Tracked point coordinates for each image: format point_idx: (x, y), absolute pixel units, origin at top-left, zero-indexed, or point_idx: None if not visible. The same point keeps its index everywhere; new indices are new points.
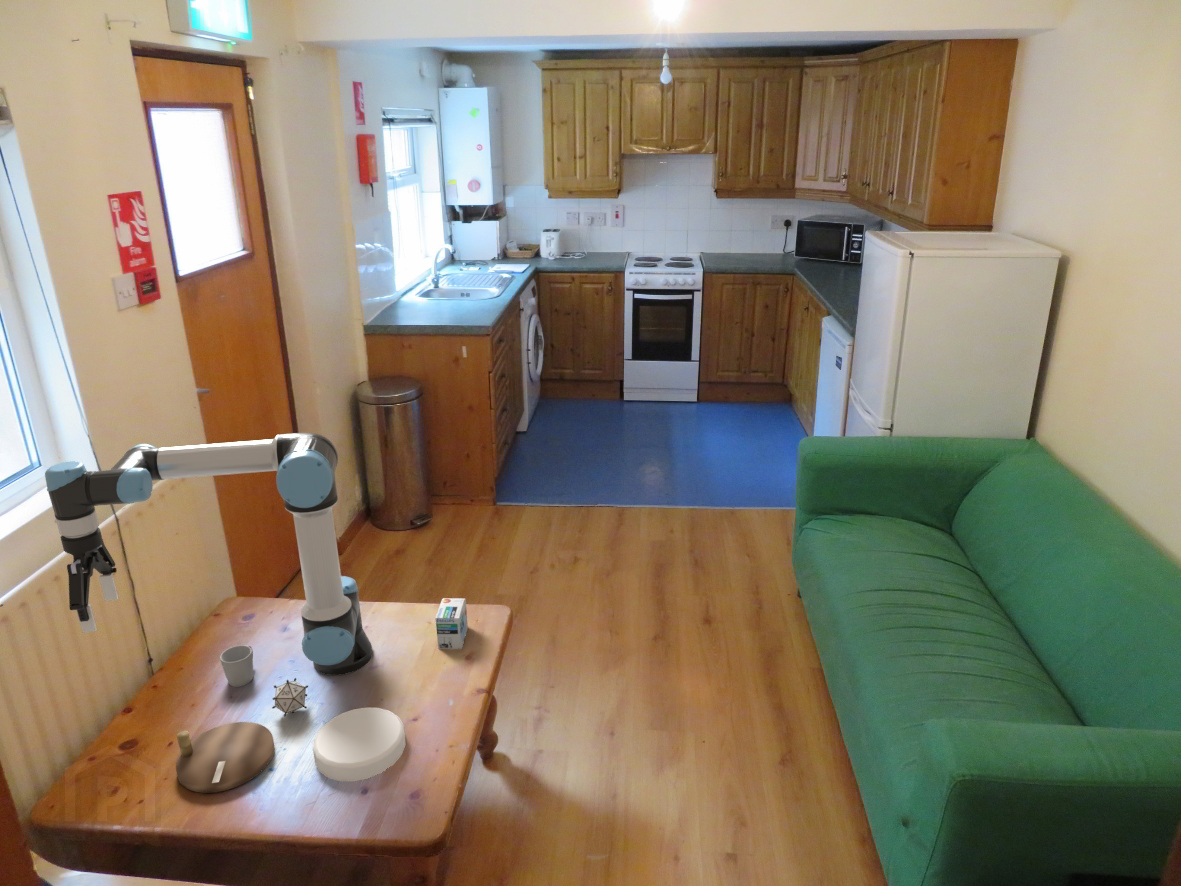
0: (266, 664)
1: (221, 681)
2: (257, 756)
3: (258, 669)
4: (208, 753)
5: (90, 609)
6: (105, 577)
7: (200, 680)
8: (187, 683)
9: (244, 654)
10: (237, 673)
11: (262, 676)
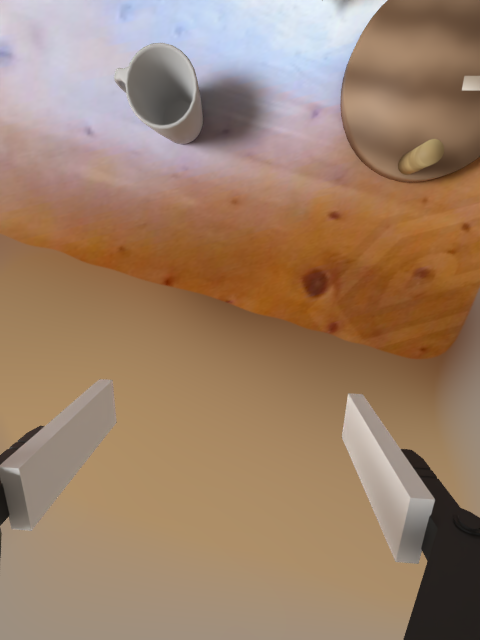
0: None
1: (173, 163)
2: (477, 3)
3: None
4: (426, 119)
5: (414, 474)
6: (32, 492)
7: (163, 205)
8: (168, 227)
9: (141, 85)
10: (200, 98)
11: None
